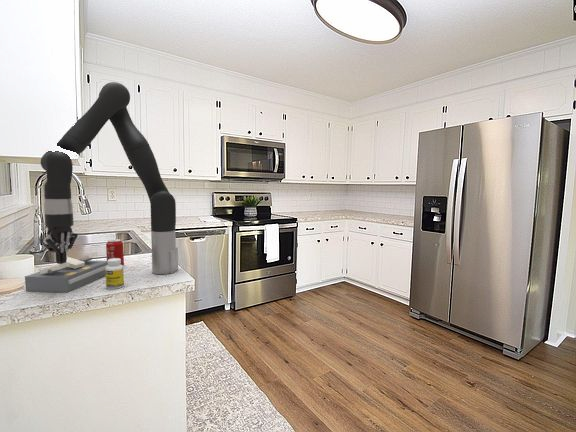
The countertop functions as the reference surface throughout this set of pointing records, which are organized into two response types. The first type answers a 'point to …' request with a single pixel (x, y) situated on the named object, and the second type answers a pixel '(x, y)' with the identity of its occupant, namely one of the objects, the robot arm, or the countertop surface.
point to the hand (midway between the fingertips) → (61, 263)
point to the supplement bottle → (114, 274)
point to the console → (66, 278)
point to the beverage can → (115, 250)
